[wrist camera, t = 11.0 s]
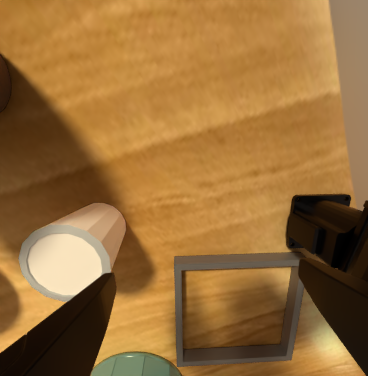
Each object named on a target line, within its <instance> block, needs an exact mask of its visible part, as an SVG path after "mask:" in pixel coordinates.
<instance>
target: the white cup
mask: <svg viewBox="0 0 368 376" xmlns="http://www.w3.org/2000/svg"><path fill="white" fill-rule="evenodd" d="M125 232H126V221H125V219H124V218H123V216H122V214H121V212H119V211H118V210H117V209H116V208H115V207H114V206H111V205H108V204H105V203H92V204H90V205H88V206H85V207H83V208H81V209H79V210H77V211H75V212H73V213H71V214H68V215H66V216H64V217H62V218H60V219H58V220H56V221H54V222H52V223H50V224H48V225H46V226H44V227H42V228H39V229H37V230H35V231H33V232H32V233H31V234H30V235H29V237H28V238H27V239H26V240H25V241H24V242H23V243H22V246H21V250H20V254H19V258H18V259H19V263H20V267H21V272H22V274H23V276H24V277H25V278H26V280H27V281H28V282H29V284H30V285H31V287H33V288H34V289H36V290H37V291H39V292H40V293H41V294H43V295H44V296H46V297H49V298H52V299H56V300H59V301H63V302H66V301H69V300H70V299H72V298H73V297H74V296H75V295H77V294H78V293H79V292H81V291H82V290H83V289H84V288H86V287H87V286H88V285H90V284H91V283H92V282H94V281H95V280H96V279H97V278H99V277H100V276H101V275H103V274H104V273H111V270H112V267H113V265H114V262H115V259H116V256H117V254H118V251H119V248H120V246H121V243H122V240H123V237H124V235H125Z"/></svg>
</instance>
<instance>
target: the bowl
mask: <svg viewBox="0 0 368 376" xmlns="http://www.w3.org/2000/svg"><path fill="white" fill-rule="evenodd" d="M90 376H181V374H180V372H179V370H178V369H177V368H176V367H175V366H174V365H173V364H172V363H171V362H169V361H168V360H166V359H164V358H162V357H160V356H158V355H154V354H151V353H146V352H126V353H121V354H117V355H114V356H111V357H109V358H107V359H105V360H103V361H101V362H100V363H99V364H98V365H96V366H95V367H94V369H93V370H92V372H91V375H90Z"/></svg>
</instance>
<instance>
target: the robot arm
mask: <svg viewBox="0 0 368 376" xmlns="http://www.w3.org/2000/svg"><path fill="white" fill-rule="evenodd" d="M298 198H299V200H298V201H297V199H298ZM344 199H345V200H344ZM350 201H351V197H350V195H347V194H316V195H295V196H294V197H293V199H292V206H291V213H290V217H289V224H288V231H287V234H288V235H287V246H288V247H290V248H305V249H306V250H308V251H309V252H310V253H311V254H313V255H316V256H317V257H319V258H320V259H321V260H322V261H324V262H325V263H326V264H327V265H325V264H323V263H321V262H318V261H316V260H313V259H311V258H301V259H300V260H299V267H298V276H299V279H300V280H301V282H302V284H303V285H304V287H305V289H306V290H307V292H308V293H309V295H310V297H311V298H312V300H313V302H314V303H315V305H316V307H317V308H318V310H319V311H320V313H321V314H322V315H323V317H324V318H325V320H326V321H327V322H328V324H329V325H330V327H331V328H332V329H333V331H334V332H335V333H336V335H337V336H338V338H339V339H340V340H341V342H342V343H343V344H344V346H345V347H346V349H347V350H348V351H349V353H350V354H351V355H352V357H353V358H354V360H355V361H356V362H357V364H358V365H359V367H360V368H361V369H362V371H363V372H364V373H365V375H366V376H368V201H365V204H364V210H363V211H360V210H357V209H355V208H352V207H349V205H350ZM291 243H292V244H291ZM328 265H329V266H328ZM335 268H338V270H337V269H335ZM115 295H116V282H115V276H114V273H104V274H103V275H101V276H100V277H99V278H97V279H96V280H95V281H94V282H92V283H91V284H90V285H88V286H87V287H86V288H84V289H83V290H82V291H81V292H79V293H78V294H77V295H75V296H74V297H73V298H72V299H70V300H69V301H68V302H66V303H65V304H64V305H62V306H61V307H60V308H59V309H57V310H56V311H55V312H53V313H52V314H51V315H49V316H48V317H47V318H46V319H44V320H43V321H42V322H40V323H39V324H38V325H37V326H35V327H34V328H33V329H31V330H30V331H29V332H28V333H27V335H26V334H25V335H23V336H22V337H21V338H20V339H18V340H17V341H16V342H14V343H13V344H12V345H10V346H9V347H8V348H6V349H5V350H4V351H2V352H1V353H0V376H90V375H91V372H92V370H93V367H94V364H95V361H96V358H97V355H98V353H99V350H100V347H101V344H102V341H103V339H104V336H105V333H106V330H107V327H108V323H109V319H110V315H111V311H112V307H113V303H114V299H115Z"/></svg>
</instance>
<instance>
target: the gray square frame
mask: <svg viewBox="0 0 368 376" xmlns="http://www.w3.org/2000/svg"><path fill="white" fill-rule="evenodd" d="M301 258H307V257H305V256H304V255H303V254H302V253H301V252H287V253H259V254H230V255H201V256H174V276H175V314H176V352H177V367H184V366H201V365H218V364H235V363H252V362H270V361H287V360H292V354H293V349H294V343H295V337H296V331H297V325H298V320H299V314H300V308H301V302H302V296H303V291H304V285H303V284H302V282H301V280H300V279H299V276H298V267H299V260H300V259H301ZM282 266H292V269H291V276H290V282H289V289H288V296H287V303H286V309H285V316H284V323H283V329H282V336H281V343H280V344H275V345H257V346H239V347H221V348H203V349H184V350H183V340H182V277H181V270H203V269H229V268H255V267H282Z"/></svg>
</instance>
